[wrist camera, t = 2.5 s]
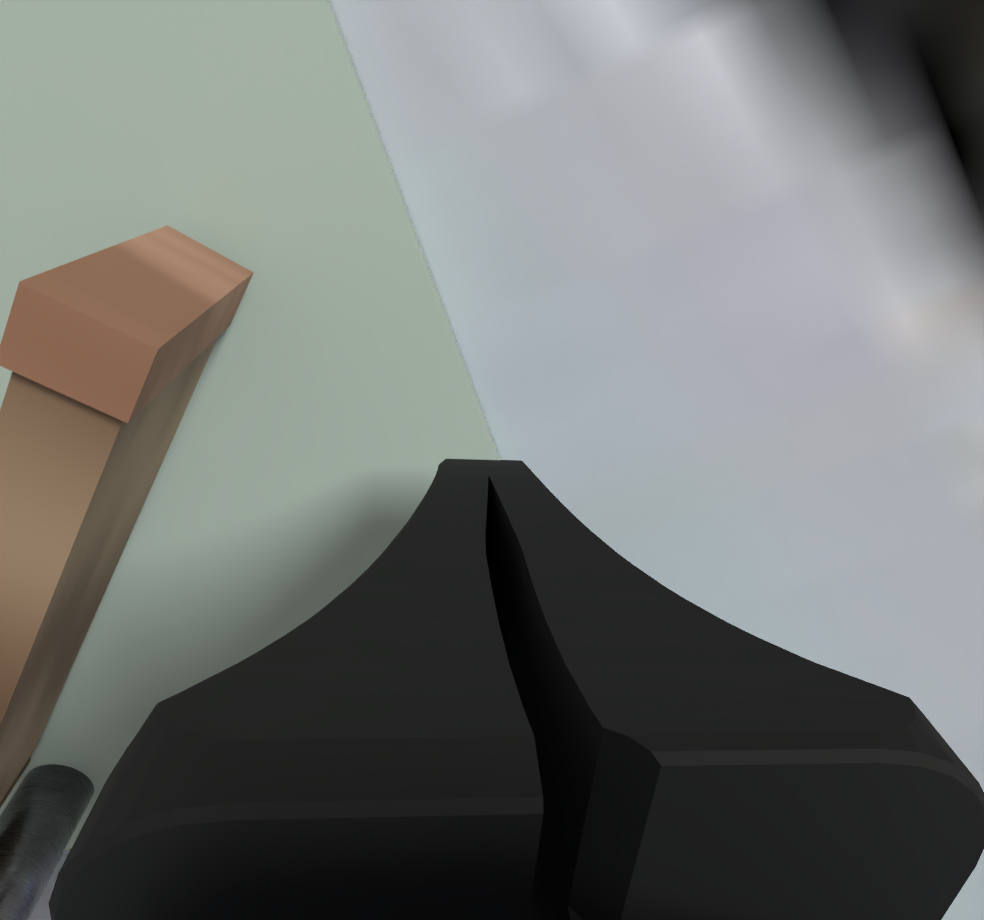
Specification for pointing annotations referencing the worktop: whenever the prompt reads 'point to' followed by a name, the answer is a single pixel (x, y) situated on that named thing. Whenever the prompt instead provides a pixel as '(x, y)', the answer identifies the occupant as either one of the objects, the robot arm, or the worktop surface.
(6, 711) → the wooden block
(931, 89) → the worktop surface
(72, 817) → the dark gray metal cylinder
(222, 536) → the gate mat
